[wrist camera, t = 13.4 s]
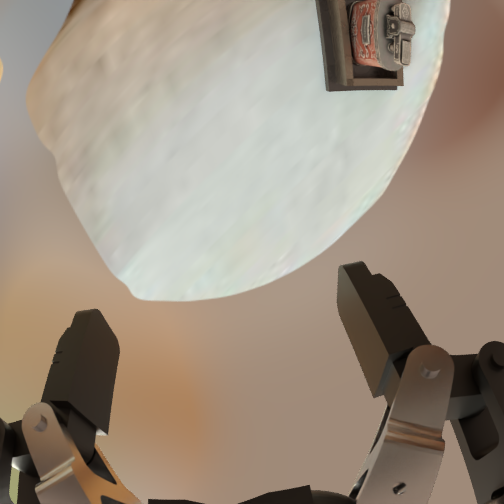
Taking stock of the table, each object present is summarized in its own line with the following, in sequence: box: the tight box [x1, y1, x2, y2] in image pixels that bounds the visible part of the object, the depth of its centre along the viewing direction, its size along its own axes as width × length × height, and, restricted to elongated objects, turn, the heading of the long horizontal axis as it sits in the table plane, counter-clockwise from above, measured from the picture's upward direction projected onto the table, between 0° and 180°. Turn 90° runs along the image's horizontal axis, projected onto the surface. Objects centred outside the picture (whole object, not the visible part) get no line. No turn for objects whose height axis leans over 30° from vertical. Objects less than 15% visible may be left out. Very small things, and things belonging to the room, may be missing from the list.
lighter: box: [347, 0, 415, 71], centre depth 23 cm, size 8×3×10 cm, turn 2°
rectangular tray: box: [315, 0, 404, 92], centre depth 26 cm, size 9×14×4 cm, turn 8°
